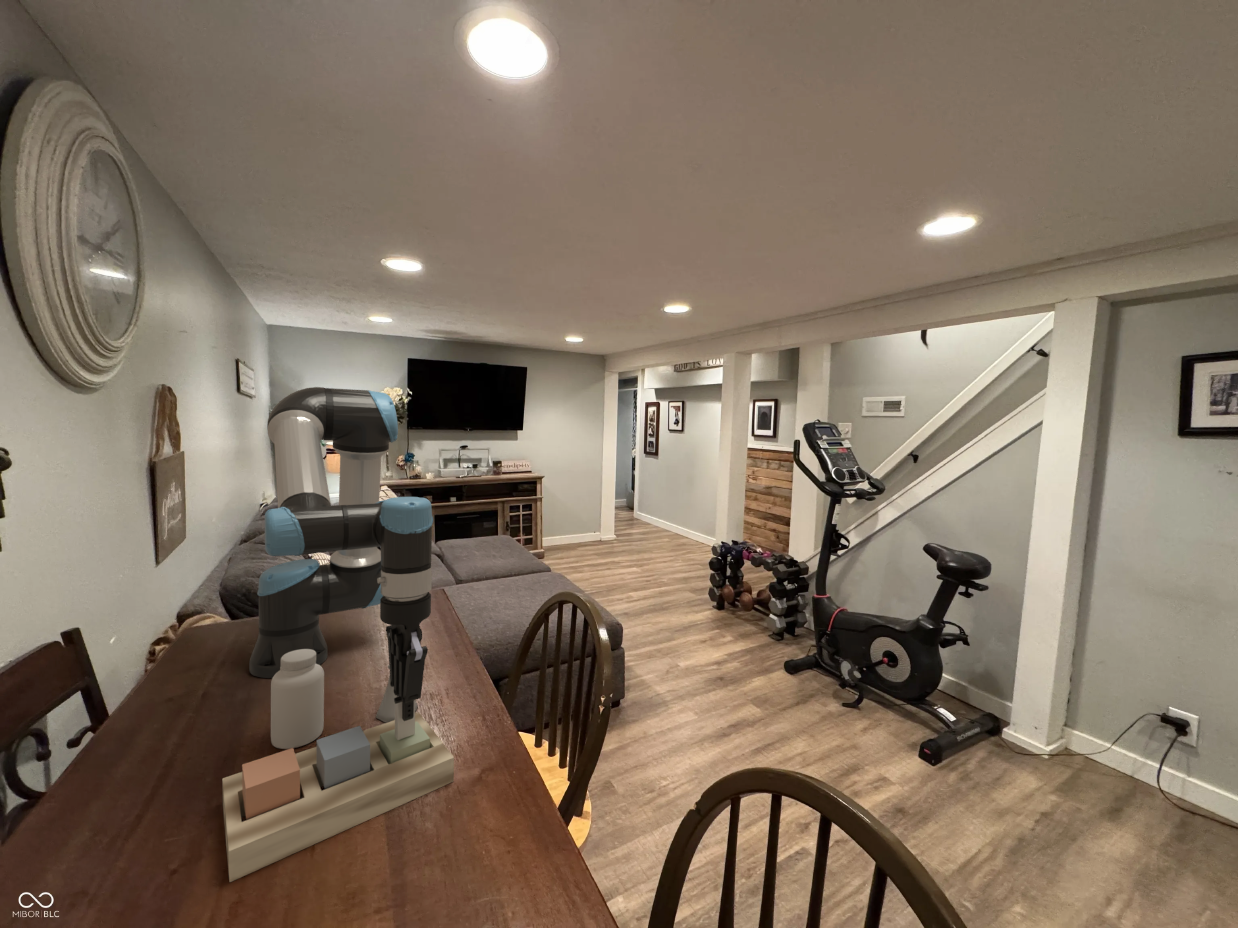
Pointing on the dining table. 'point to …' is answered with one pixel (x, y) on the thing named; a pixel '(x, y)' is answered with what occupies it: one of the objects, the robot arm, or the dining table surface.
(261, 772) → the button terracotta
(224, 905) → the dining table surface
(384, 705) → the flask
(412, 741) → the button sage
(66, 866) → the dining table surface
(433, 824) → the dining table surface
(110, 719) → the dining table surface
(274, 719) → the pill bottle
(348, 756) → the button slate
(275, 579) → the robot arm
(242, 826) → the panel
